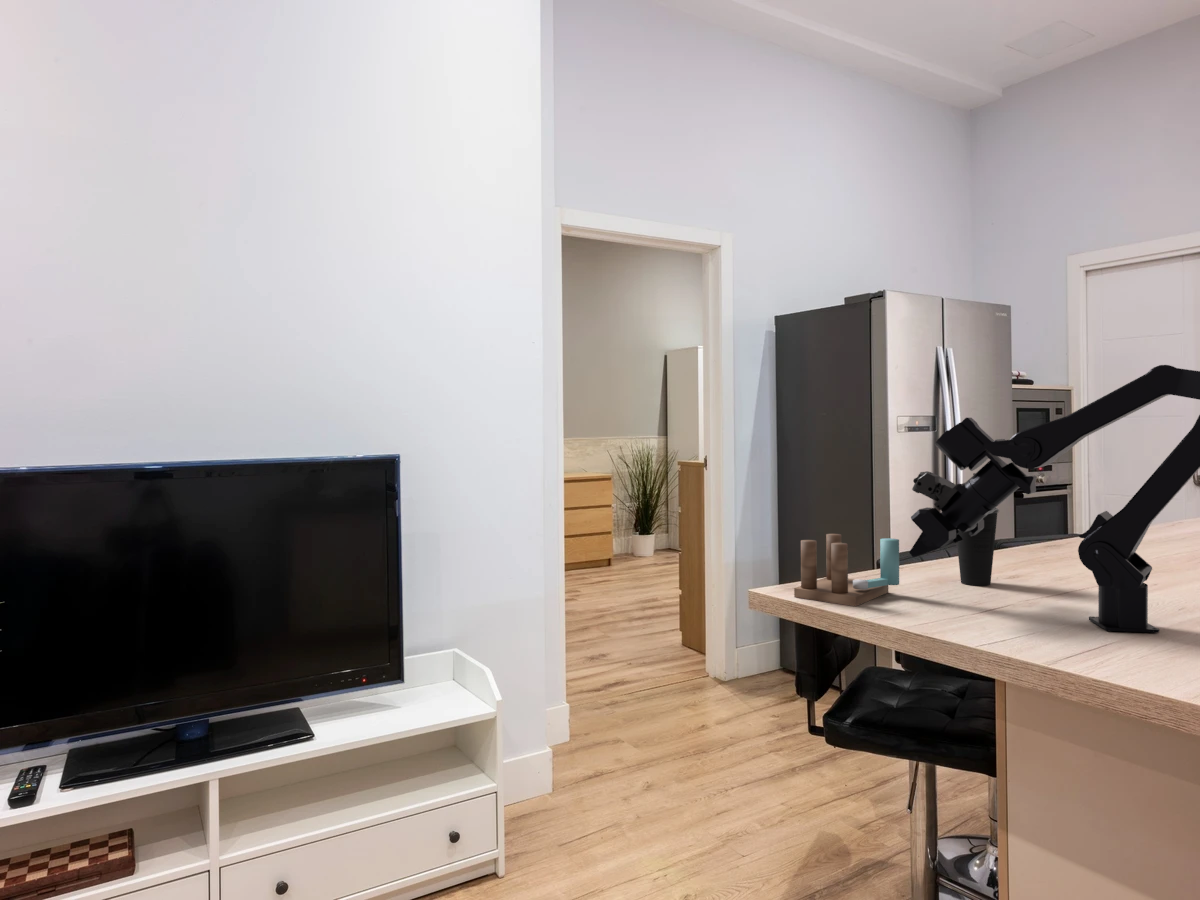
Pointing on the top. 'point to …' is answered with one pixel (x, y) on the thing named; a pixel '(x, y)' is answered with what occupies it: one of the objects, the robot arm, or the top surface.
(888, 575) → the hinged leg
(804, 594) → the brown peg stand
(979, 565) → the drinking cup
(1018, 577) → the top surface
